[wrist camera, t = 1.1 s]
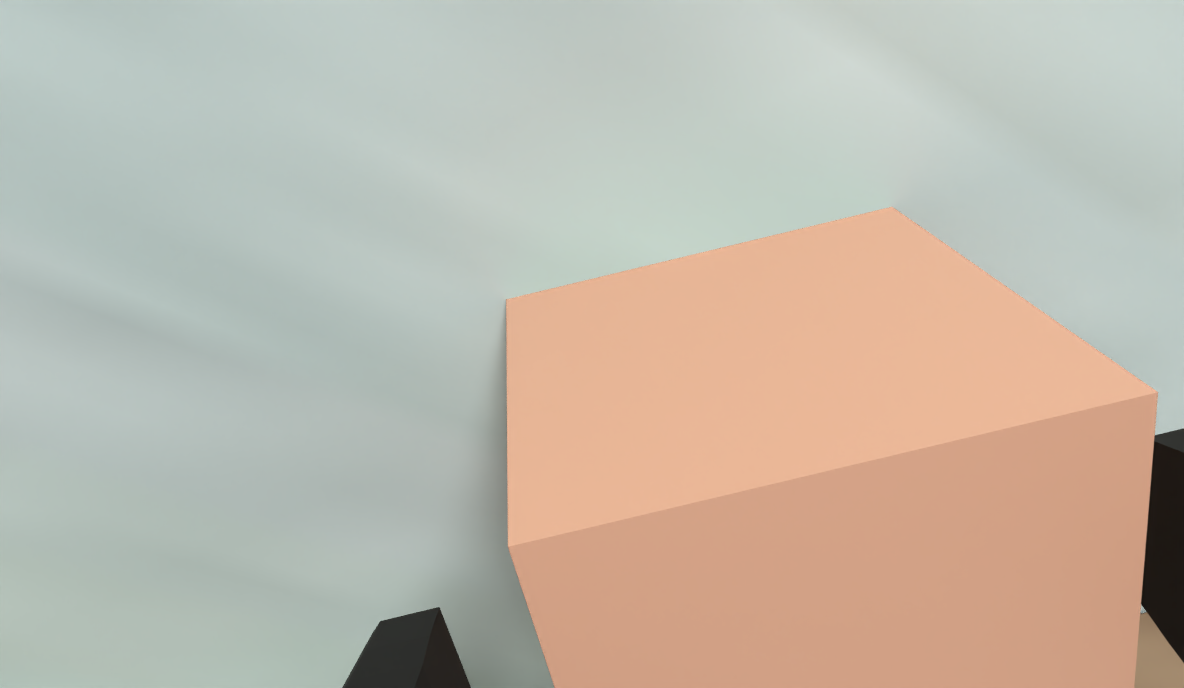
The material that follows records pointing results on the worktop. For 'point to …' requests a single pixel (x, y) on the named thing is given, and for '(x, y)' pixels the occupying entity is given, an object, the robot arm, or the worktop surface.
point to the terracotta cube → (823, 473)
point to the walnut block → (1156, 659)
